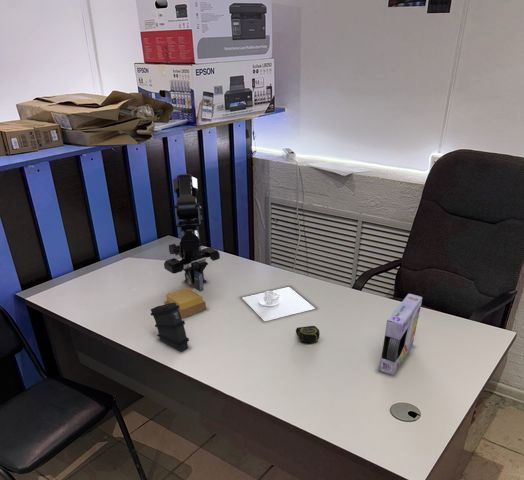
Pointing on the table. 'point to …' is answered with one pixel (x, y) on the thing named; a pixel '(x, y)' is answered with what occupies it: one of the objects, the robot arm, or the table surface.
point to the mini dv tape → (196, 281)
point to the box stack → (186, 301)
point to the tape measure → (308, 334)
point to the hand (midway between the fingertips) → (194, 283)
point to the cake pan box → (400, 333)
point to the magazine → (170, 326)
